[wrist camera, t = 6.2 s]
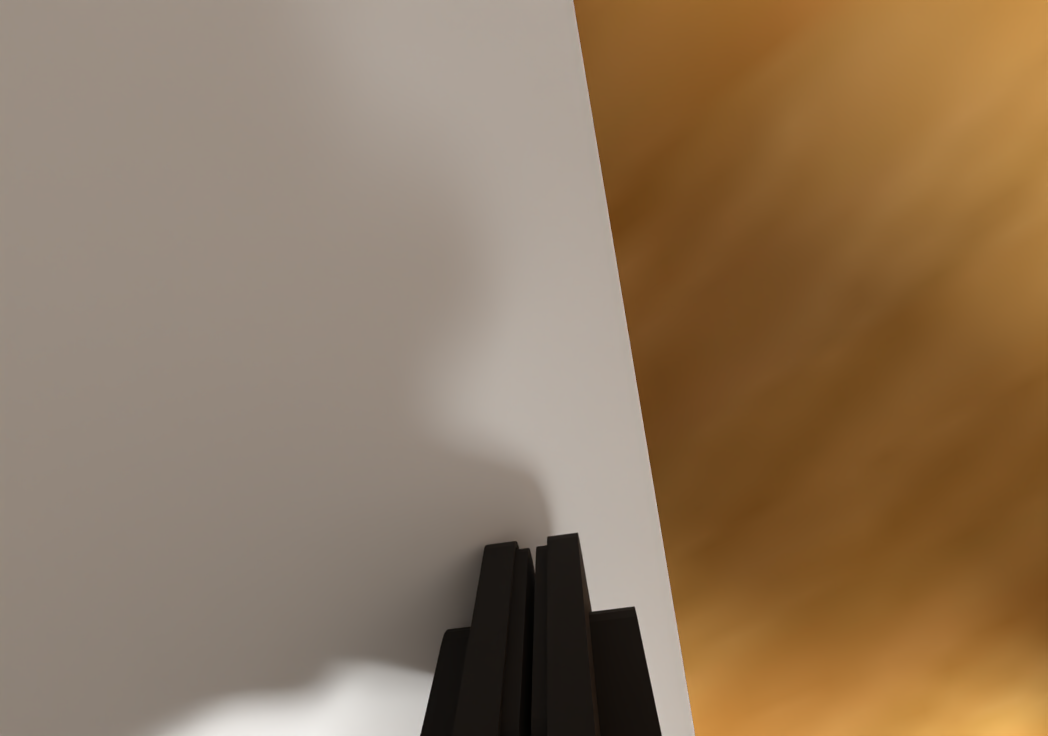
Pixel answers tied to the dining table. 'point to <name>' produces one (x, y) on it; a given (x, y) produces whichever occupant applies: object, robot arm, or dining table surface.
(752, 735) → the dining table surface
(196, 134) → the plate
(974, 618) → the dining table surface
